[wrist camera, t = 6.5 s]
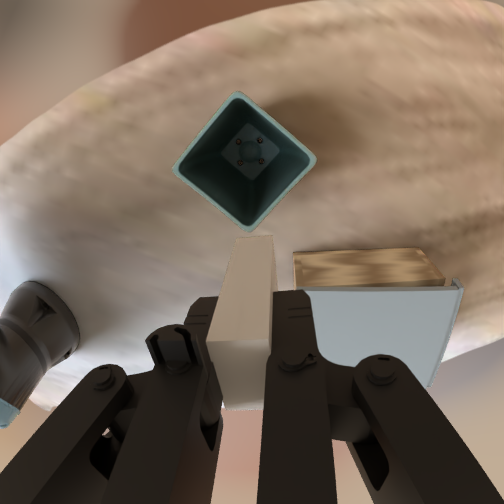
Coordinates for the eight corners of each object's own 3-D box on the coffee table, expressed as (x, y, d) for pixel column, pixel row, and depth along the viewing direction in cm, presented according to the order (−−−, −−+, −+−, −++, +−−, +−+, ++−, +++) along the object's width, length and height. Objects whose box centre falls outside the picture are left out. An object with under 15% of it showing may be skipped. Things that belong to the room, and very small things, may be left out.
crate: (294, 343, 43) (295, 385, 36) (293, 252, 37) (296, 287, 30) (401, 335, 42) (418, 373, 34) (418, 247, 36) (445, 278, 29)
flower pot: (309, 148, 32) (320, 159, 24) (255, 206, 36) (248, 235, 27) (246, 94, 30) (236, 87, 22) (194, 156, 34) (169, 170, 25)
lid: (297, 378, 37) (295, 392, 35) (297, 278, 31) (295, 290, 29) (427, 375, 34) (431, 389, 32) (457, 278, 28) (465, 290, 26)
